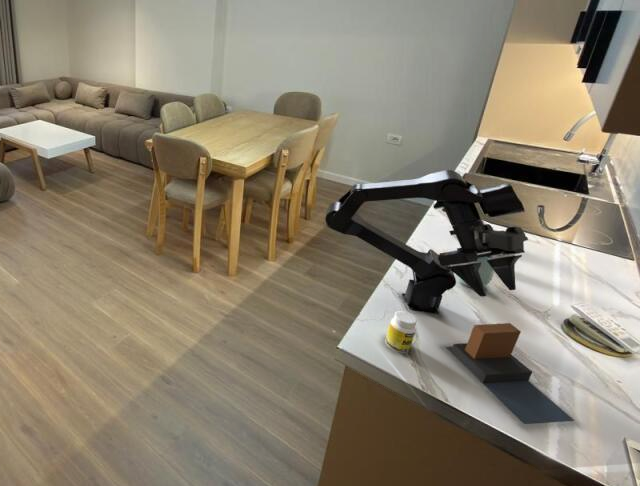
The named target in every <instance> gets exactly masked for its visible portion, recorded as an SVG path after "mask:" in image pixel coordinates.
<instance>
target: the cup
mask: <svg viewBox="0 0 640 486" xmlns="http://www.w3.org/2000/svg"><path fill="white" fill-rule="evenodd" d="M488 259H491V257H487V256H486V257H481V258H478V261H475V263H480V262H481V266H480V268H479V270H478V271H479V274H480V277H481V280H482V283H483V286H484V288H486V287H487V286H488V285H490V284H491V281H492V280H493V278H494V275H495V274H496V273H495V271H494V270H493V269H492V267H491V266H490V265H489V263H488V262H487V261H486V260H488ZM456 277H457V280H458V281H459V282H460V283H461V284H463V285H464V286H467V287H469V288H471V287H470V286H469V285H467V284H466V283H465V282H464V281H463V280H462V279H461V278H460V277H458V276H457V275H456Z"/></svg>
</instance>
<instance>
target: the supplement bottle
mask: <svg viewBox="0 0 640 486" xmlns="http://www.w3.org/2000/svg"><path fill="white" fill-rule="evenodd" d="M416 324H417V318H416V317H415V316H414V315H412V314H411V313H409V312H407V311H404V310H398V311H395V312H394V316H393V318H391V320H390V322H389V326H388V330H387V333H386V336H385V340H384V342H385V344H386V345H387V347H388V348H390V349H391V350H393V351H395V352H397V353H403V354H405V353H408V352H409V351H410V349H411V346H412V343H413V340H414V338H415V334H416V331H417V328H416Z"/></svg>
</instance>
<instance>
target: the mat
mask: <svg viewBox="0 0 640 486" xmlns="http://www.w3.org/2000/svg"><path fill="white" fill-rule="evenodd" d="M452 347H453V346H445V348H446V349H447V350H448V352H450V353H451V350H452ZM466 369H467V370H468V372H470V373H471V374H472V375H473V376H474V377H475V378H476V379H477V380H478V381H479V382H480V383H481V384H482V385H483V386H484V387H485V388H486V389H487V390H488V391H489V392H491V394H493V396H495V398H497V399H498V401H500V403H502V404H503V405H504V407H506V408H507V409H508V410H509V411H510V412H511V413H512V414H513V415H514V416H515V417H516V418H517V419H518V420H519V421H520V422H521V423H522V424H523V425H531V424H532V425H533V424H547V423H560V422H574V421H575V419H574V418H572V417H571V416H570V415H569V414H568V413H567V412H566V411H564V410H563V409H562V408H561V407H560V406H558V404H556V403H555V402H554V401H553V400H552V399H551V398H549V397H548V396H547V395H546V394H544V392H542V391H541V390H540V389H539V388H538V387H537V386H536V385H534V384H533V383H532V382H531V381H530V380H528V381H513V382H496V383H482V382H481V381H480V380H479V379H478V378H477V377H476V376H475V375H474V374H473V373H472V372H471V371H470V370H469V369H468V368H466Z"/></svg>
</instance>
